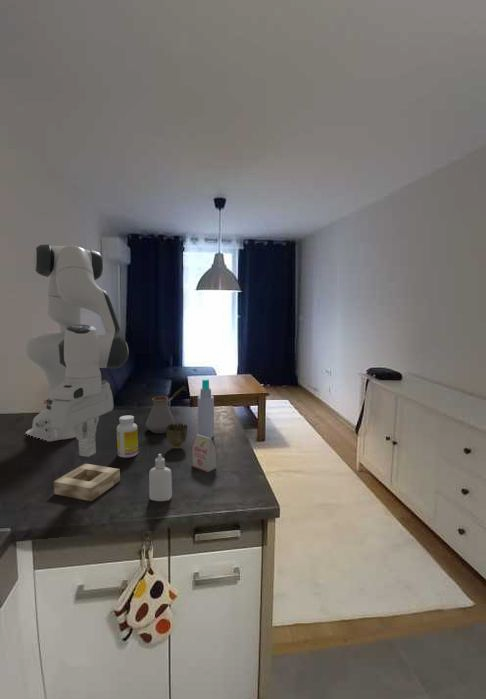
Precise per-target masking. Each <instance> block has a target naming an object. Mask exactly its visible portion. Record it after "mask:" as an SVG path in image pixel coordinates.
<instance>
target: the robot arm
mask: <svg viewBox="0 0 486 699" xmlns="http://www.w3.org/2000/svg"><path fill="white" fill-rule="evenodd" d="M31 261H32V264H33V267H34V269H35V272H36V273H37V274H38V275H40V276H42V277H46V278H48V277H50V278H49V283H48V288H47V289H48V290H47V291H48V292H47V293H48V294H47V316H48V317H49V319H50V320H51V321H53V322H54V323H56V324H58V325H59V330H60V332H56V333H43V334H39V335H35V336H33V337H31V338H29V340H28V341H27V342H26V346H25V347H26V348H25V351H26V355H27V358H28V359H29V360H30V361H31V363H33V364H35V365H37V366H38V367H39V368H40V369H41V370H42V371H43V373H44V375H45V377H46V380H47V386H48V396H49V398H48V399H46V400H45V399H44V402H43V404H46V406H45V408H44V409H43V410H42V411H40V412H39V413H38V414H37V415H36V416H35V417H34V418H33V419H32V428H30V429H28V430H27V431H25V435H26V434H27V435H26V436H28V435H30V436H29V437H31V436H33V437H32V438H35V437H36V438H35V439H38V438H40V439H39V440H42V439H43V440H42V441H45V440H46V441H45V442H54V441H59V440H61V441H62V440H68V439H75V438H76V440H78V441H79V440H81V439H83V438H85V432H83V431H82V429H81V427H82V423H84V422H86V421H89V420H91V419H93V418H94V422H95V434H96V433H97V426H98V425H99V424H98V423H99V420H100V416H102V415H104V414H108V413H109V412H112V411H113V409H114V396H113V393H112V392H113V391H112V389H111V385H110V383H109V382H108V381H107V380H106V379H104V380H102V373H101V370H100V369H104V368H105V369H119V368H120V367H122V366H124V364H126V362H127V361H128V359H129V346H128V343H127V342H126V341H127V340H126V339H125V337H124V334H123V332H122V329H121V327H120V324H119V322H118V318H117V315H116V312H115V310H114V307H113V306H114V305H113V303H112V300H111V299H110V296H109V294H108V293H107V291H106V290H104V289H102V288H101V287H100V286H99V285H98V284H97V283H96V281H97V280H98V279H99V278H101V276H102V274H103V273H104V268H105V264H104V260H103V256H102V254H101V253H100V252H98V251H96V250H93V249H85V248H83V247H81V246H78V245H50V244H39V245H37V247H35V250H34V252H33V254H32V260H31ZM82 309H85V310H88V311H91V312H94V313H95V314H97V315H98V316H99V318H100V319H101V323H102V325H103V329H104V331H105V334H98V332H97V328H96V327H95V326H92V325H90V324H84V323H83V320H82Z"/></svg>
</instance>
